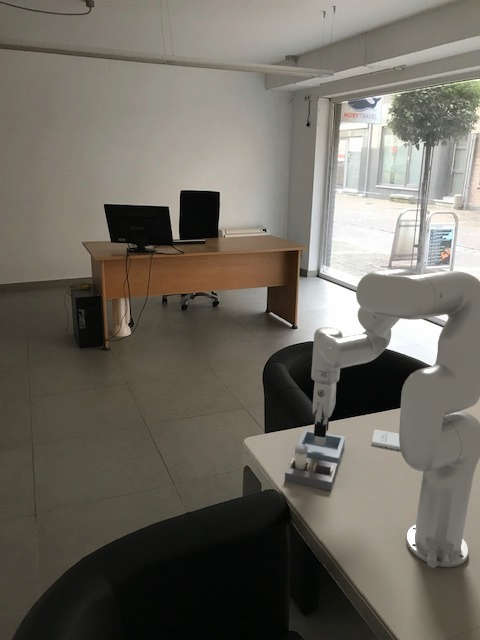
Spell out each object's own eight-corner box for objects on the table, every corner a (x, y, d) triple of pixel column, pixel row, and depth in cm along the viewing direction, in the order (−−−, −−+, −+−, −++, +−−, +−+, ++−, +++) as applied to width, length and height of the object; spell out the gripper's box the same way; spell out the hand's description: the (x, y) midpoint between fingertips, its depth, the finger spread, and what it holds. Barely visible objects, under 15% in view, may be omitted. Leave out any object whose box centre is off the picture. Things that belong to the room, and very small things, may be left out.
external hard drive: (415, 454, 151) (371, 446, 155) (416, 440, 158) (374, 433, 162) (415, 449, 150) (371, 441, 154) (417, 436, 157) (374, 428, 161)
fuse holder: (330, 490, 133) (331, 478, 132) (284, 481, 136) (285, 469, 135) (336, 471, 141) (337, 460, 140) (292, 462, 145) (293, 451, 144)
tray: (337, 467, 143) (338, 458, 142) (294, 459, 146) (295, 449, 145) (344, 446, 154) (345, 436, 153) (304, 438, 157) (304, 429, 156)
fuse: (304, 478, 138) (306, 451, 135) (292, 476, 139) (294, 449, 136) (307, 472, 141) (308, 445, 138) (295, 469, 142) (296, 443, 139)
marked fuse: (324, 446, 147) (326, 421, 145) (313, 444, 148) (315, 418, 146) (326, 440, 150) (328, 415, 148) (315, 438, 151) (317, 413, 149)
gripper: (334, 387, 134) (329, 450, 140) (343, 364, 149) (338, 422, 155) (305, 382, 136) (301, 445, 142) (317, 360, 151) (313, 417, 157)
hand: (321, 432), depth 148 cm, fingers closed on marked fuse, 3 cm apart
